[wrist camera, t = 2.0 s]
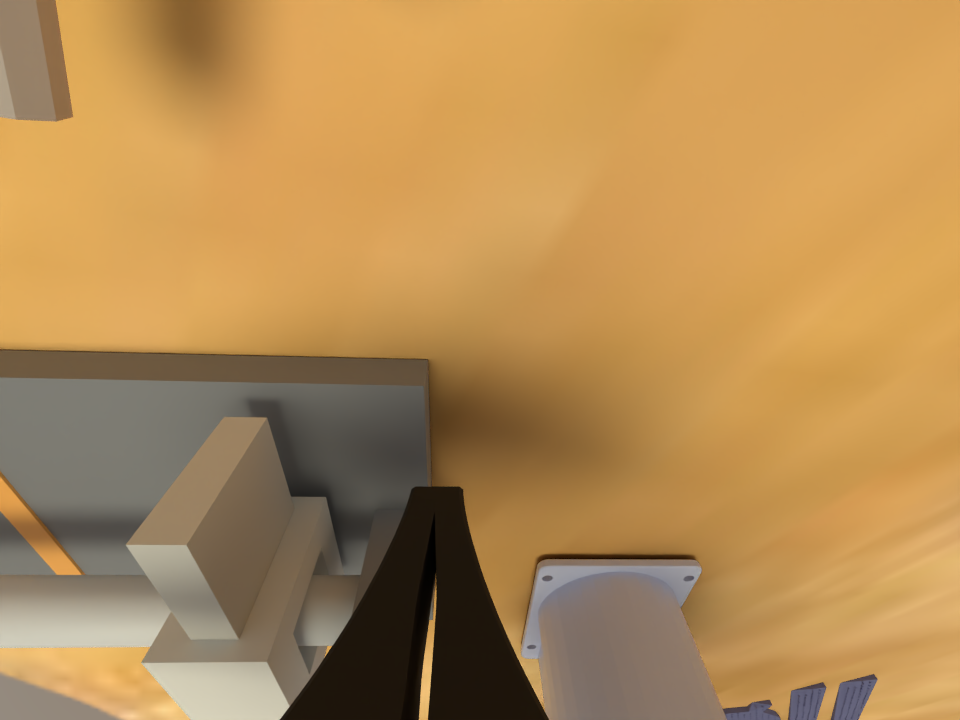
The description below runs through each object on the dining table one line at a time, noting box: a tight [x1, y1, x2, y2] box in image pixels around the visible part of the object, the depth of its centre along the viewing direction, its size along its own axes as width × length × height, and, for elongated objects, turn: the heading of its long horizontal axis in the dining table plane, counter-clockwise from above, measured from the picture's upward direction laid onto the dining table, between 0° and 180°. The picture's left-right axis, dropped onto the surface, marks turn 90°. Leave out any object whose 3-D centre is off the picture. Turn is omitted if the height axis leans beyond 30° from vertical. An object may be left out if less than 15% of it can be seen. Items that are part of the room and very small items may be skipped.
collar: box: [126, 417, 344, 720], centre depth 13 cm, size 9×3×5 cm, turn 178°
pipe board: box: [0, 350, 435, 648], centre depth 15 cm, size 14×24×6 cm, turn 88°
